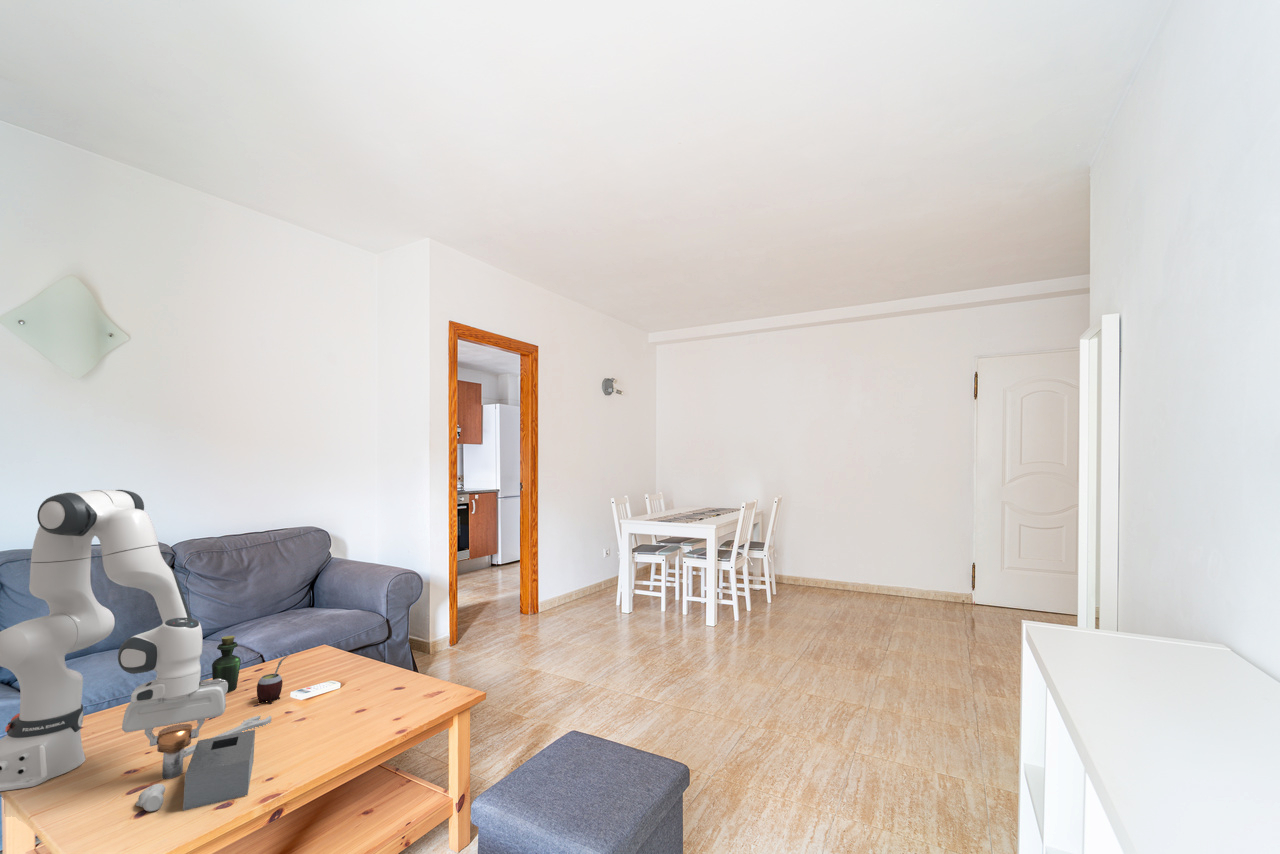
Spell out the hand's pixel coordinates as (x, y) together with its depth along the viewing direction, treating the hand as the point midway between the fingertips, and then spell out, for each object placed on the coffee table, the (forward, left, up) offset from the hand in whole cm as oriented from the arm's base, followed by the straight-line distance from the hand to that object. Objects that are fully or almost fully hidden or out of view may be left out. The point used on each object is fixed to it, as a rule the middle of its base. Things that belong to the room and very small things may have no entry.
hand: (174, 741), depth 142 cm
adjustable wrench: (+9, +18, -9) cm, 22 cm away
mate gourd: (+19, +41, -8) cm, 46 cm away
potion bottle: (+5, +59, -8) cm, 60 cm away
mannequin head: (-2, -14, -9) cm, 16 cm away
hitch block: (+11, -11, -8) cm, 18 cm away
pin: (0, 0, -8) cm, 8 cm away
